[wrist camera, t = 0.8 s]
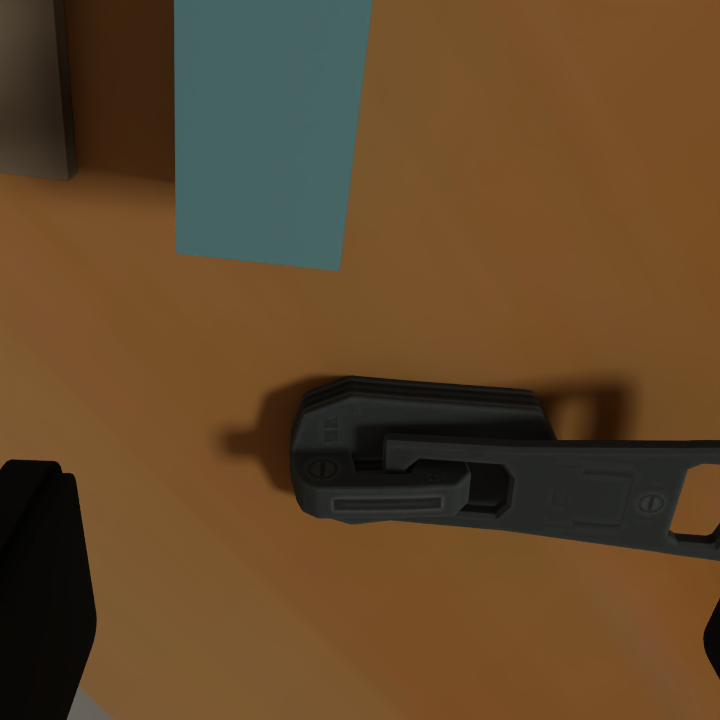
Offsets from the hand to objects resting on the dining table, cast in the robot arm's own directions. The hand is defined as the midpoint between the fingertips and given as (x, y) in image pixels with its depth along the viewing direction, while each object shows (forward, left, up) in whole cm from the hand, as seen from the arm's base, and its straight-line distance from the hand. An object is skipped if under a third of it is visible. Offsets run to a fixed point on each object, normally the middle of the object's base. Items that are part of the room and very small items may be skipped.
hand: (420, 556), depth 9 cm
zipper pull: (+16, +11, -25) cm, 32 cm away
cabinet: (-2, -4, -25) cm, 25 cm away
